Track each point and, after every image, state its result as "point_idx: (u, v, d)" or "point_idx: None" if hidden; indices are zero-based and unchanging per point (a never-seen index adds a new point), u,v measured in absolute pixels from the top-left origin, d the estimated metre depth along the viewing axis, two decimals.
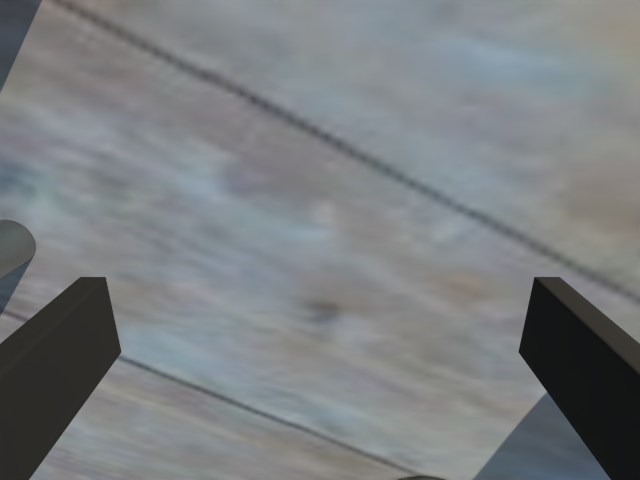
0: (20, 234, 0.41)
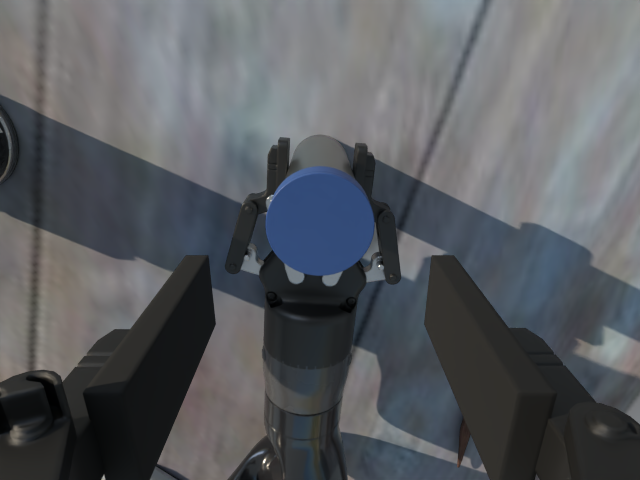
0: (300, 144, 0.34)
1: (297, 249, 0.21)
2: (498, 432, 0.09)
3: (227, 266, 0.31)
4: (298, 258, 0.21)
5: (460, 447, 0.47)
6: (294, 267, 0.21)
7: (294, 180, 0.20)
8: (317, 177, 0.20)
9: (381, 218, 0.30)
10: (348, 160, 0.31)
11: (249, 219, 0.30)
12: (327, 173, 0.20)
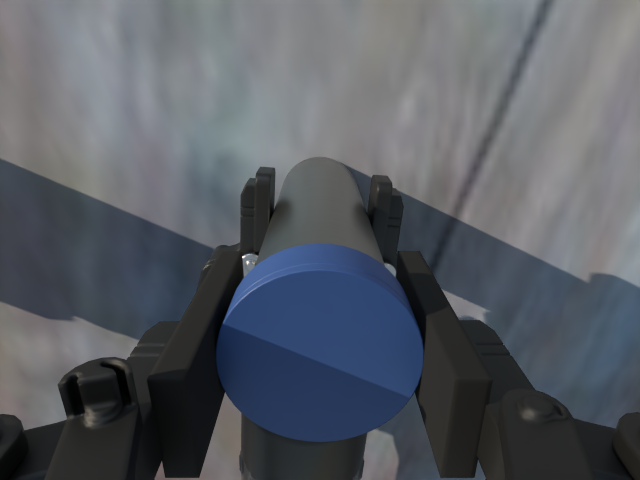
0: (292, 171, 0.24)
1: (277, 400, 0.11)
2: (442, 418, 0.09)
3: None
4: (279, 414, 0.11)
5: None
6: (272, 429, 0.12)
7: (268, 282, 0.10)
8: (314, 277, 0.10)
9: None
10: (361, 198, 0.22)
11: None
12: (334, 269, 0.10)
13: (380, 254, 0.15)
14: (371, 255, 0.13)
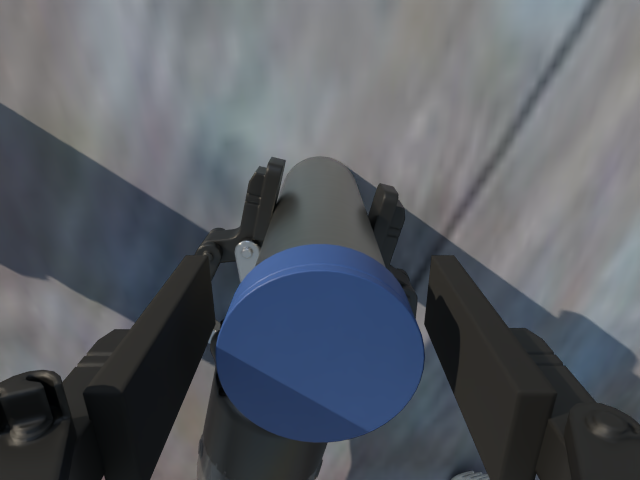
0: (297, 166, 0.25)
1: (361, 402, 0.11)
2: (498, 432, 0.09)
3: None
4: (380, 401, 0.11)
5: None
6: (397, 409, 0.11)
7: (229, 396, 0.11)
8: (223, 362, 0.11)
9: None
10: None
11: None
12: (216, 345, 0.11)
13: None
14: (379, 260, 0.13)
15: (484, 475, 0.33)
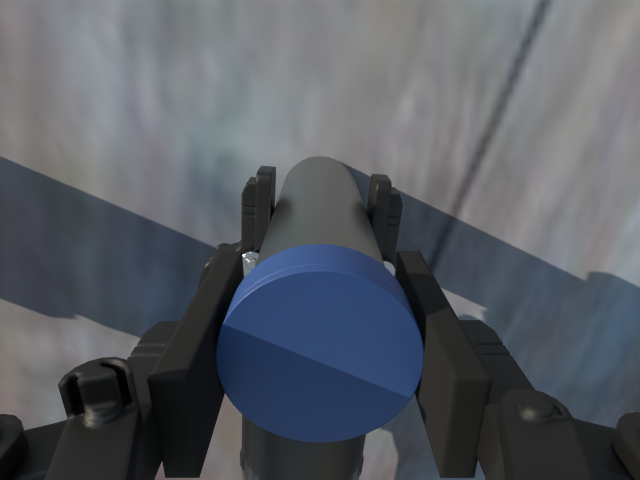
0: (292, 170, 0.25)
1: (368, 396, 0.11)
2: (442, 418, 0.09)
3: None
4: (387, 393, 0.11)
5: None
6: (406, 398, 0.11)
7: (238, 408, 0.11)
8: (225, 375, 0.11)
9: None
10: (360, 197, 0.22)
11: None
12: (216, 359, 0.11)
13: (379, 251, 0.15)
14: (370, 252, 0.13)
15: None
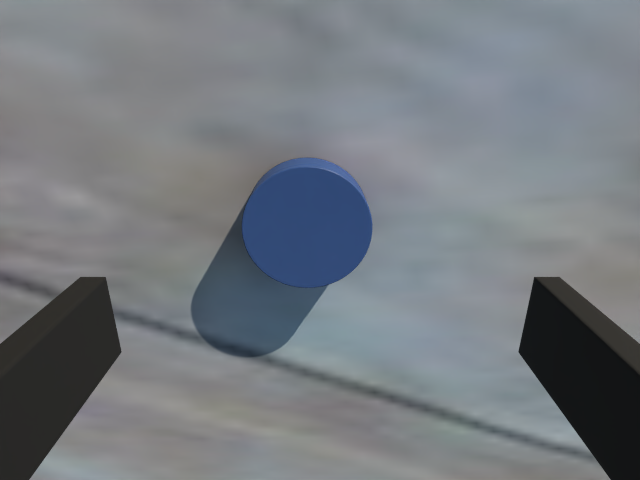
0: None
1: (338, 253, 0.18)
2: None
3: None
4: (350, 251, 0.18)
5: None
6: (362, 254, 0.18)
7: (255, 262, 0.18)
8: (248, 239, 0.17)
9: None
10: None
11: None
12: (242, 228, 0.17)
13: None
14: None
15: None
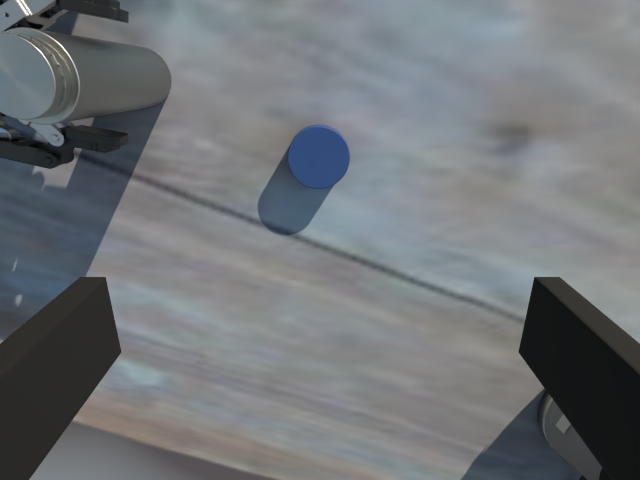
0: (158, 58, 0.34)
1: (333, 170, 0.37)
2: None
3: None
4: (339, 169, 0.37)
5: None
6: (344, 170, 0.37)
7: (293, 174, 0.37)
8: (290, 162, 0.36)
9: (50, 156, 0.31)
10: (135, 109, 0.32)
11: None
12: (288, 157, 0.36)
13: (85, 117, 0.25)
14: (81, 111, 0.23)
15: None
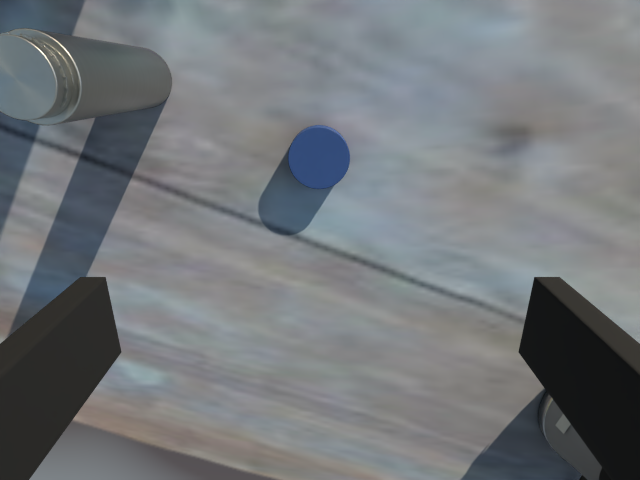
0: (158, 59, 0.34)
1: (333, 170, 0.37)
2: None
3: None
4: (339, 169, 0.37)
5: None
6: (345, 171, 0.37)
7: (294, 175, 0.37)
8: (291, 163, 0.36)
9: None
10: (136, 109, 0.32)
11: None
12: (288, 157, 0.36)
13: (86, 118, 0.25)
14: (82, 112, 0.23)
15: None
